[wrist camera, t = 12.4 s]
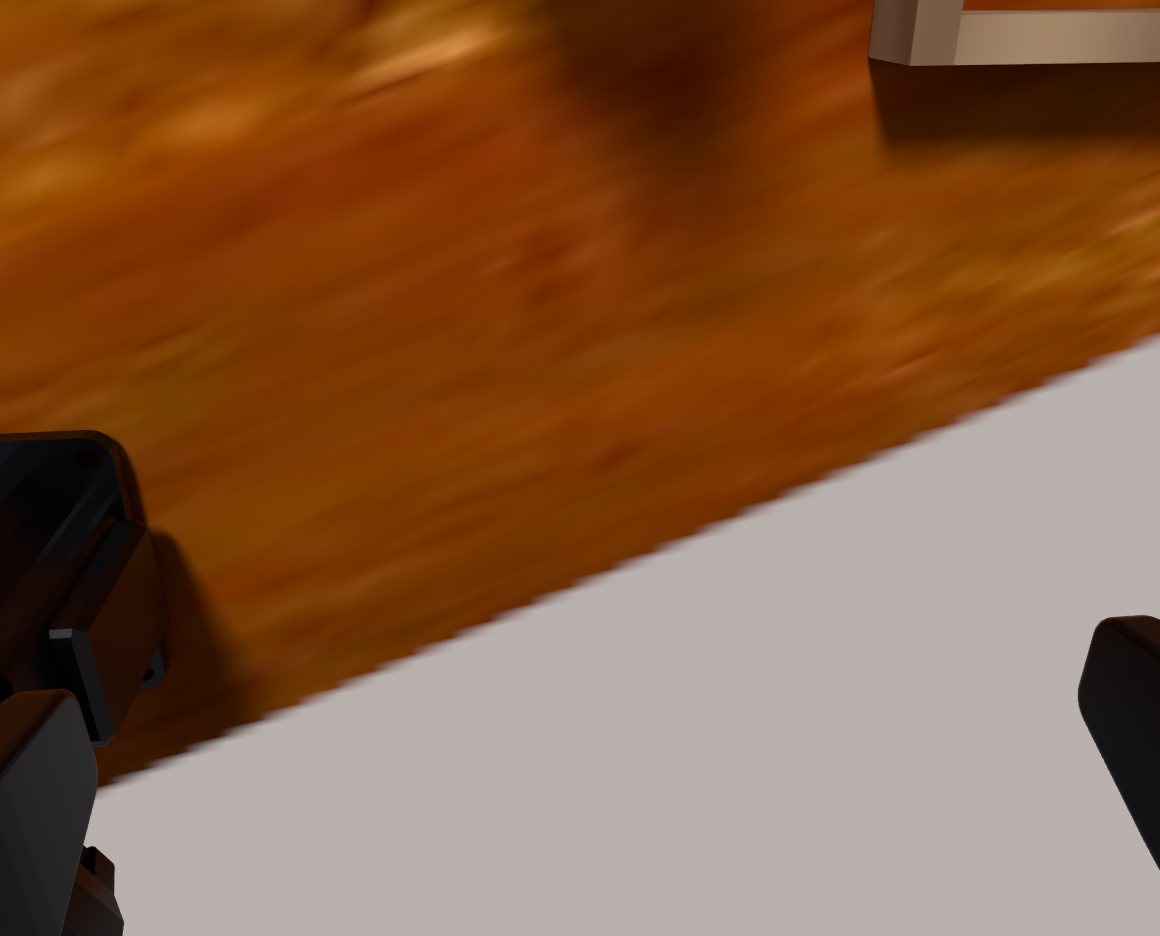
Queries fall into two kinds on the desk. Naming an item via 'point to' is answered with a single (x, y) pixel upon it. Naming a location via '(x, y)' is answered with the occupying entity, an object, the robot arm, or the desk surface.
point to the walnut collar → (1010, 34)
